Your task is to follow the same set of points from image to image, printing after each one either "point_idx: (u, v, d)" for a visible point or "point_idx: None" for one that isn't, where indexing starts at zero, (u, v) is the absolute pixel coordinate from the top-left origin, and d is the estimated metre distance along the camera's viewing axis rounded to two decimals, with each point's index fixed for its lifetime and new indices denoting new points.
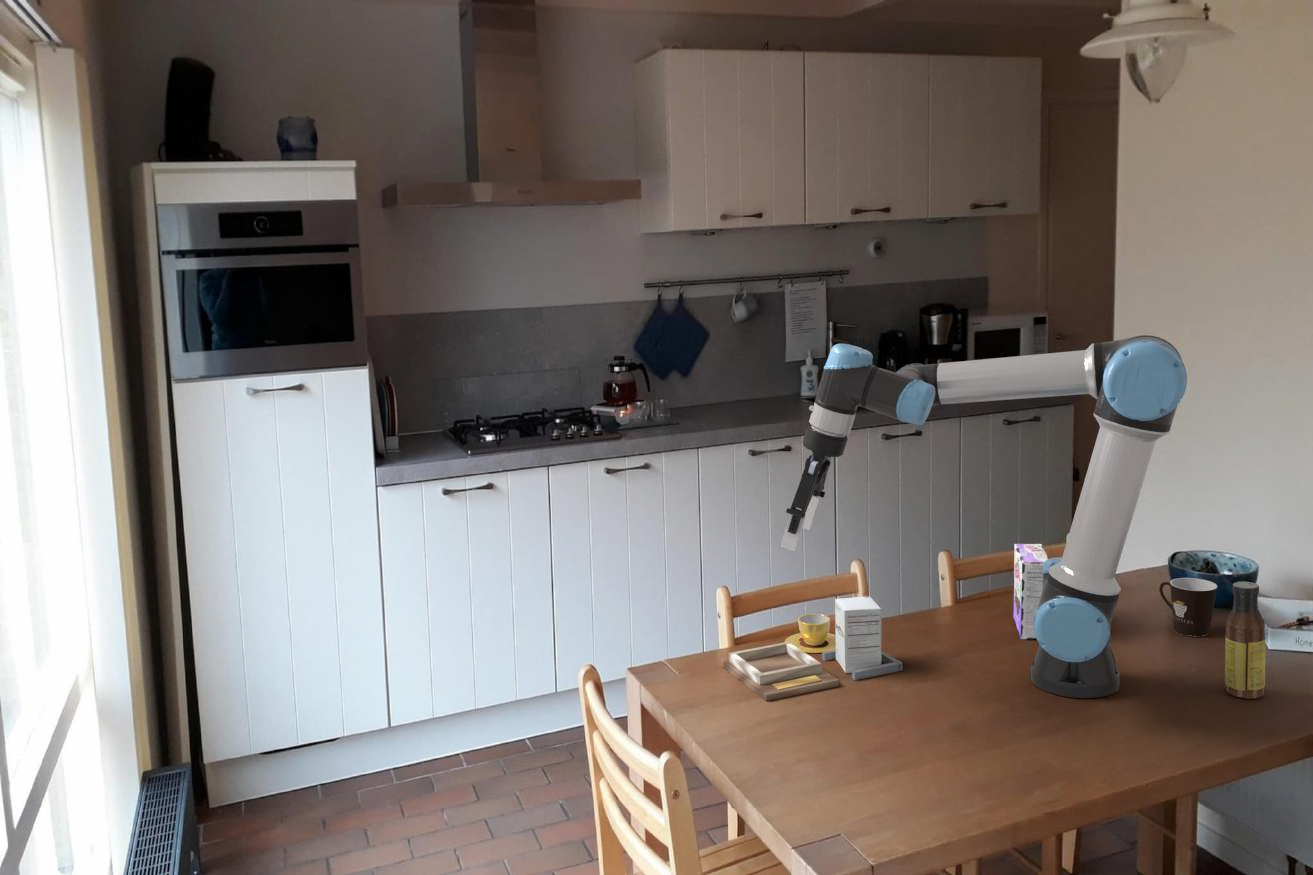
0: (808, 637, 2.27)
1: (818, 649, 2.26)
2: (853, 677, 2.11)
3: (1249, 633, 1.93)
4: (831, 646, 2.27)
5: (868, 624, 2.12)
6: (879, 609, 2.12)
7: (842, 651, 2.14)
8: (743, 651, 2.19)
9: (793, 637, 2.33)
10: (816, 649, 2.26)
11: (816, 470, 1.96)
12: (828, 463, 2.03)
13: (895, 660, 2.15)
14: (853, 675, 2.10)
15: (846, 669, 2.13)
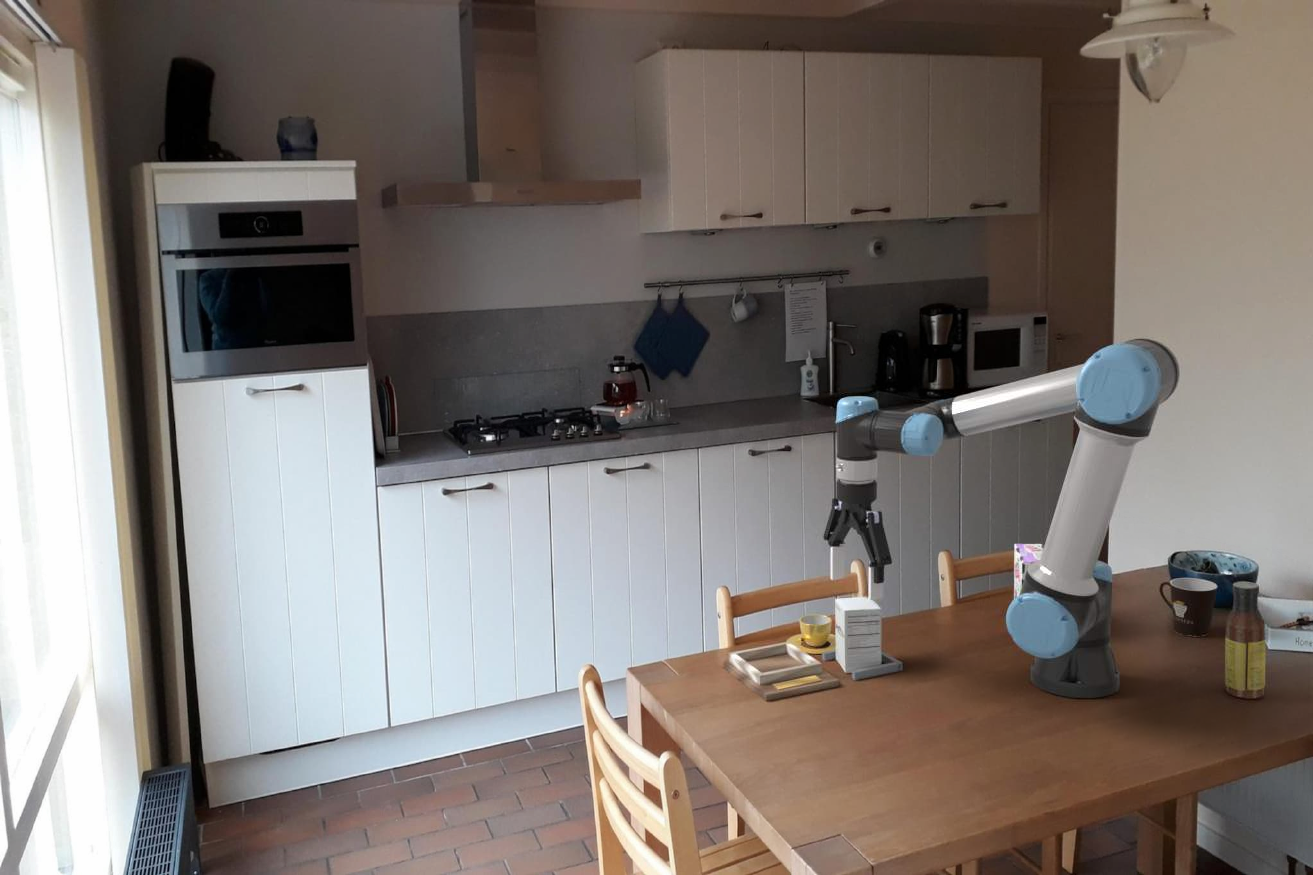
0: (809, 638, 2.27)
1: (819, 650, 2.25)
2: (853, 677, 2.11)
3: (1249, 633, 1.93)
4: (832, 647, 2.26)
5: (868, 625, 2.12)
6: (879, 609, 2.12)
7: (842, 651, 2.14)
8: (743, 651, 2.19)
9: (795, 638, 2.32)
10: (817, 650, 2.25)
11: (880, 517, 2.06)
12: None
13: (895, 660, 2.15)
14: (853, 675, 2.10)
15: (846, 669, 2.13)
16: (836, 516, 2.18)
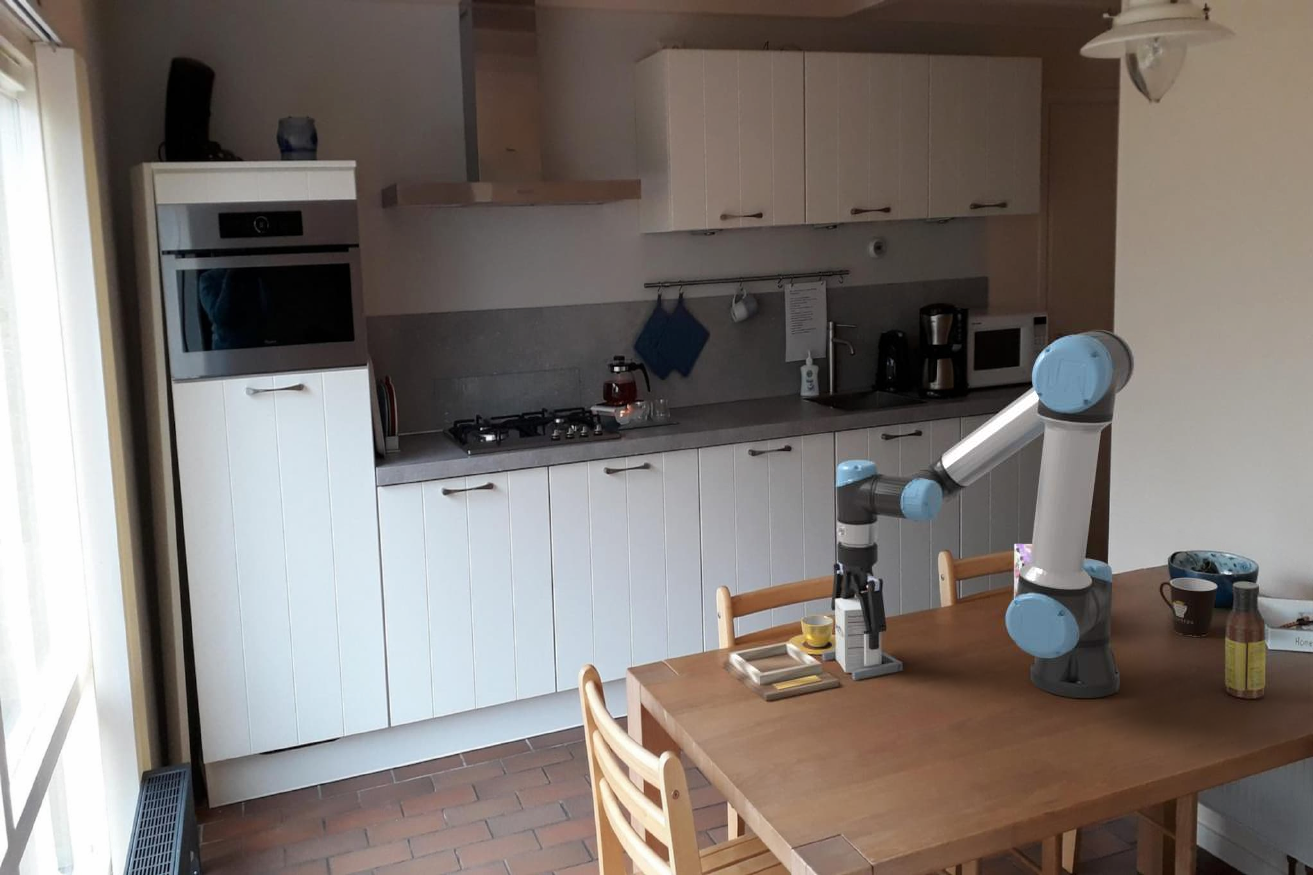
0: (811, 638, 2.27)
1: (821, 651, 2.25)
2: (853, 677, 2.11)
3: (1249, 633, 1.93)
4: (834, 648, 2.26)
5: None
6: None
7: (842, 651, 2.14)
8: (743, 651, 2.19)
9: (796, 639, 2.32)
10: (819, 651, 2.25)
11: (881, 586, 2.08)
12: None
13: (895, 660, 2.15)
14: (853, 675, 2.10)
15: (846, 669, 2.13)
16: (840, 582, 2.20)
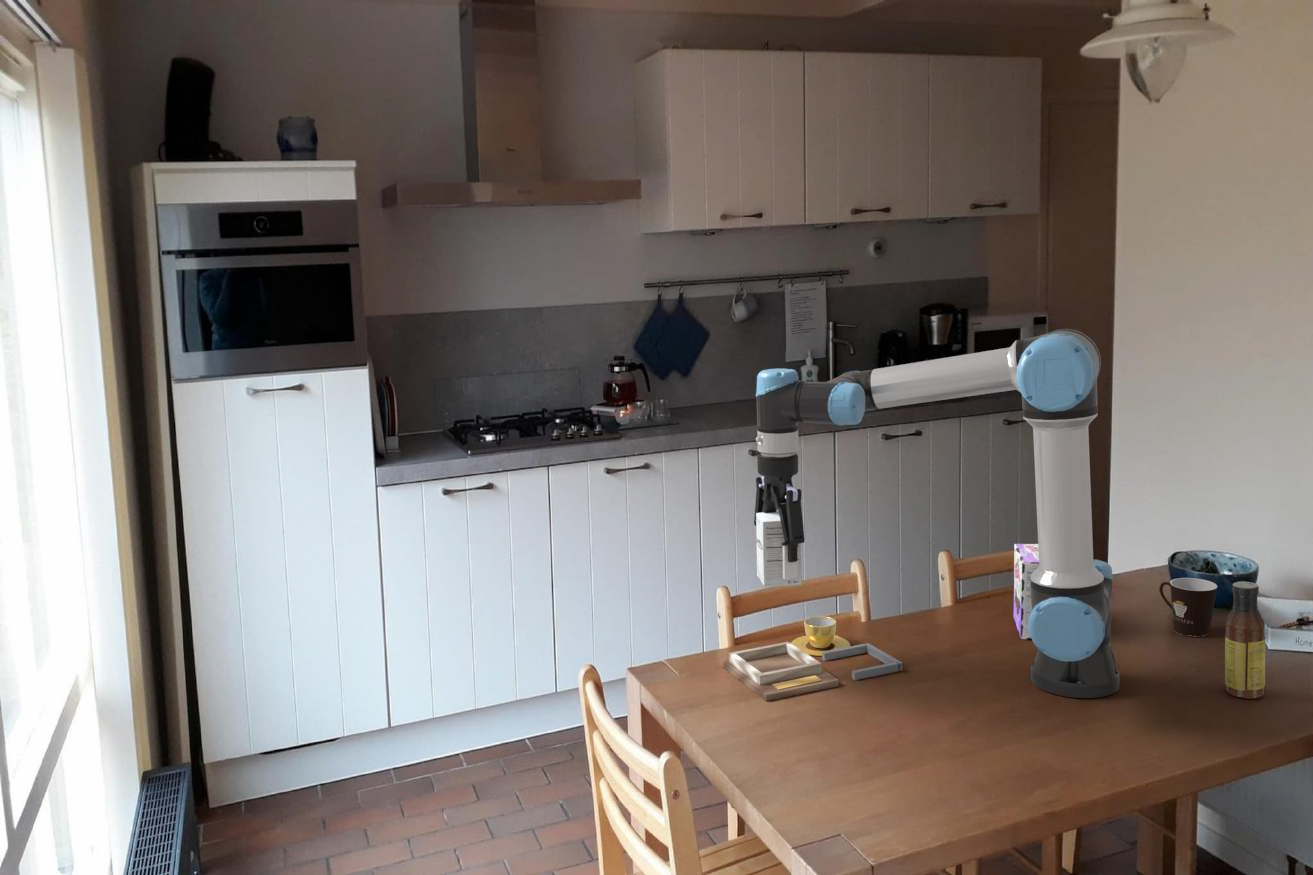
0: (814, 640, 2.26)
1: None
2: (853, 677, 2.11)
3: (1249, 633, 1.93)
4: None
5: None
6: None
7: (761, 565, 2.10)
8: (743, 651, 2.19)
9: (799, 640, 2.31)
10: None
11: (799, 496, 2.04)
12: None
13: (895, 660, 2.15)
14: (853, 675, 2.10)
15: (765, 583, 2.09)
16: (762, 496, 2.15)
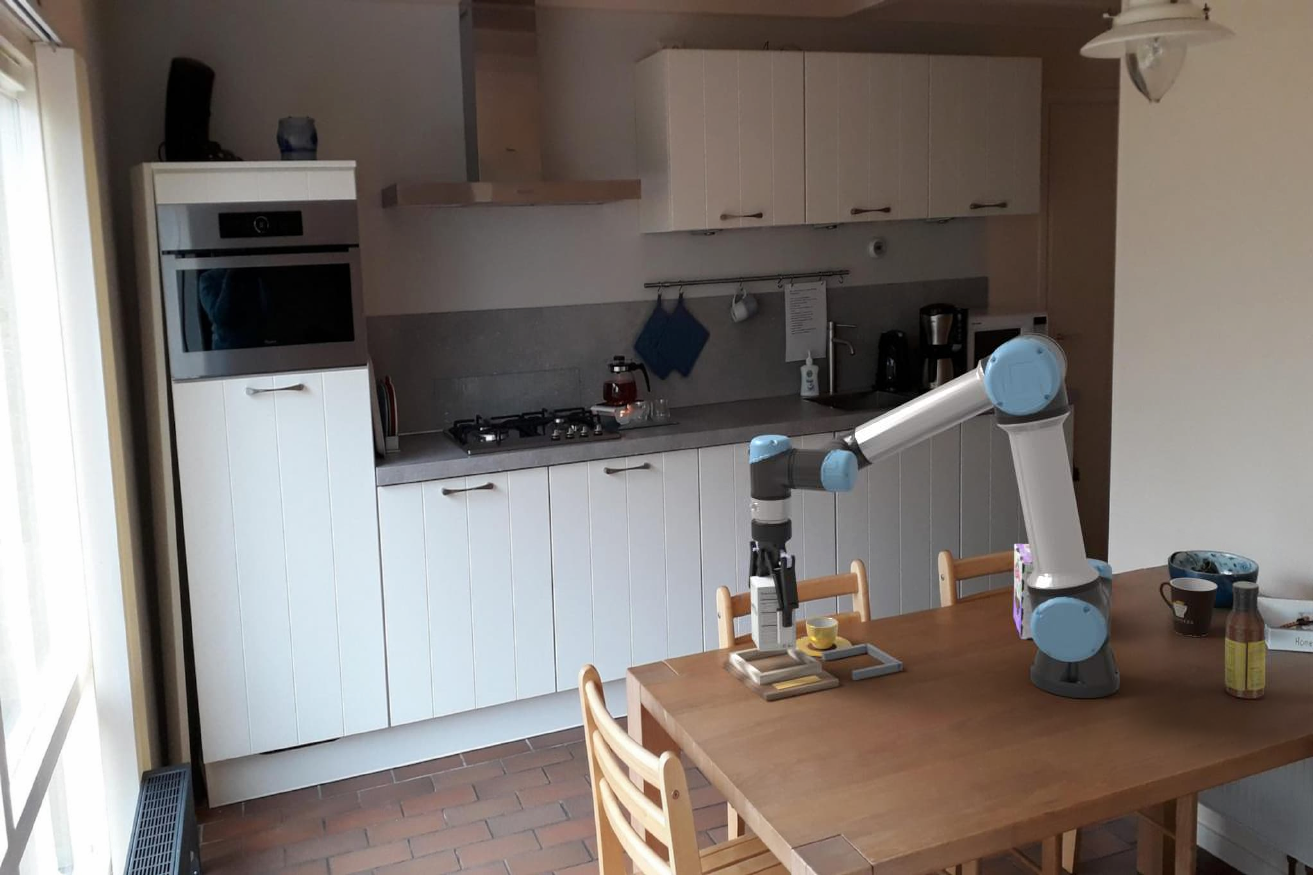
0: (816, 640, 2.25)
1: None
2: (853, 677, 2.11)
3: (1249, 633, 1.93)
4: None
5: None
6: None
7: (756, 629, 2.11)
8: (743, 651, 2.19)
9: (800, 641, 2.31)
10: None
11: (793, 562, 2.05)
12: None
13: (895, 660, 2.15)
14: (853, 675, 2.10)
15: (760, 647, 2.10)
16: (756, 559, 2.16)
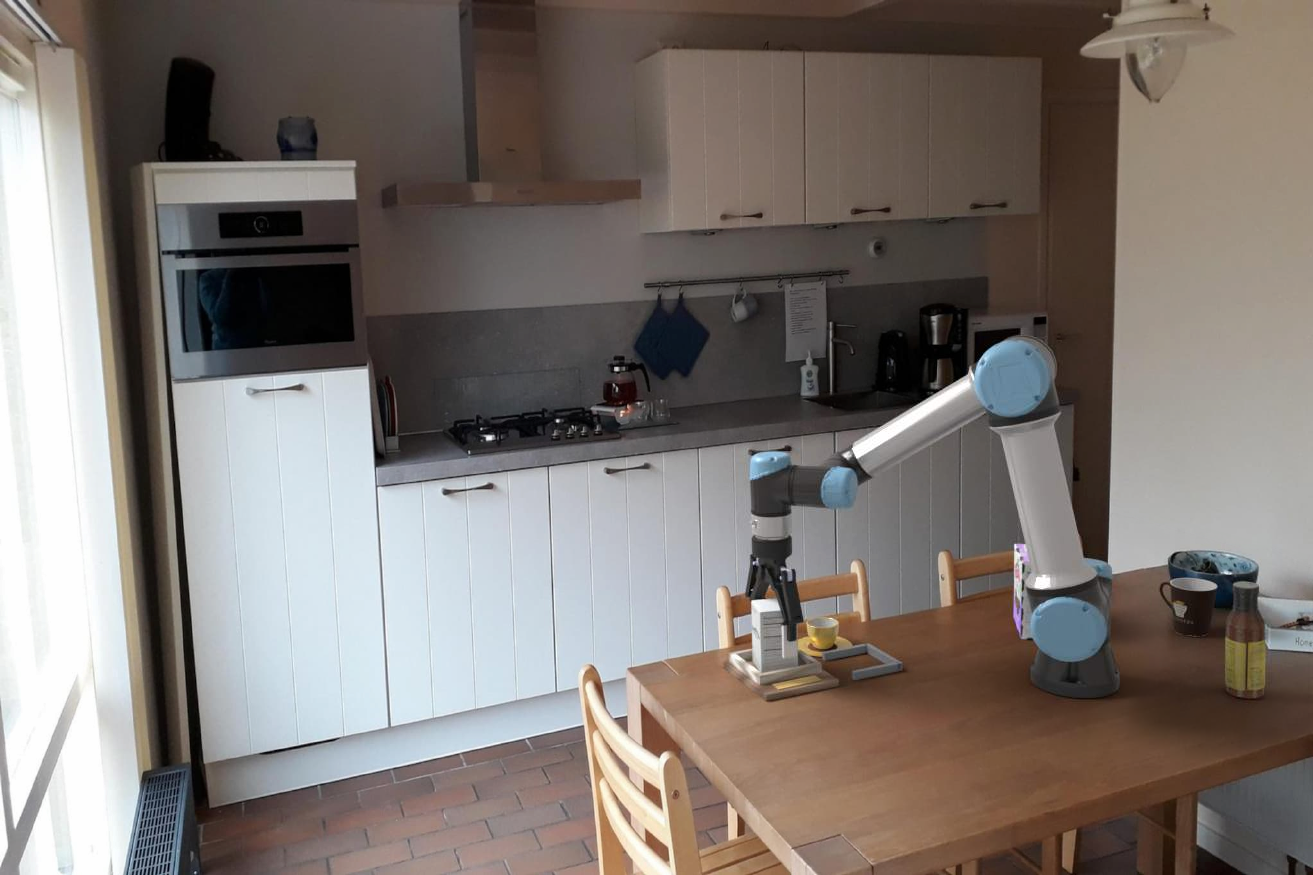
0: (817, 641, 2.25)
1: None
2: (853, 677, 2.11)
3: (1249, 633, 1.93)
4: None
5: None
6: None
7: (758, 653, 2.12)
8: (743, 651, 2.19)
9: (801, 641, 2.30)
10: None
11: (794, 575, 2.06)
12: None
13: (895, 660, 2.15)
14: (853, 675, 2.10)
15: (762, 671, 2.11)
16: (755, 572, 2.17)
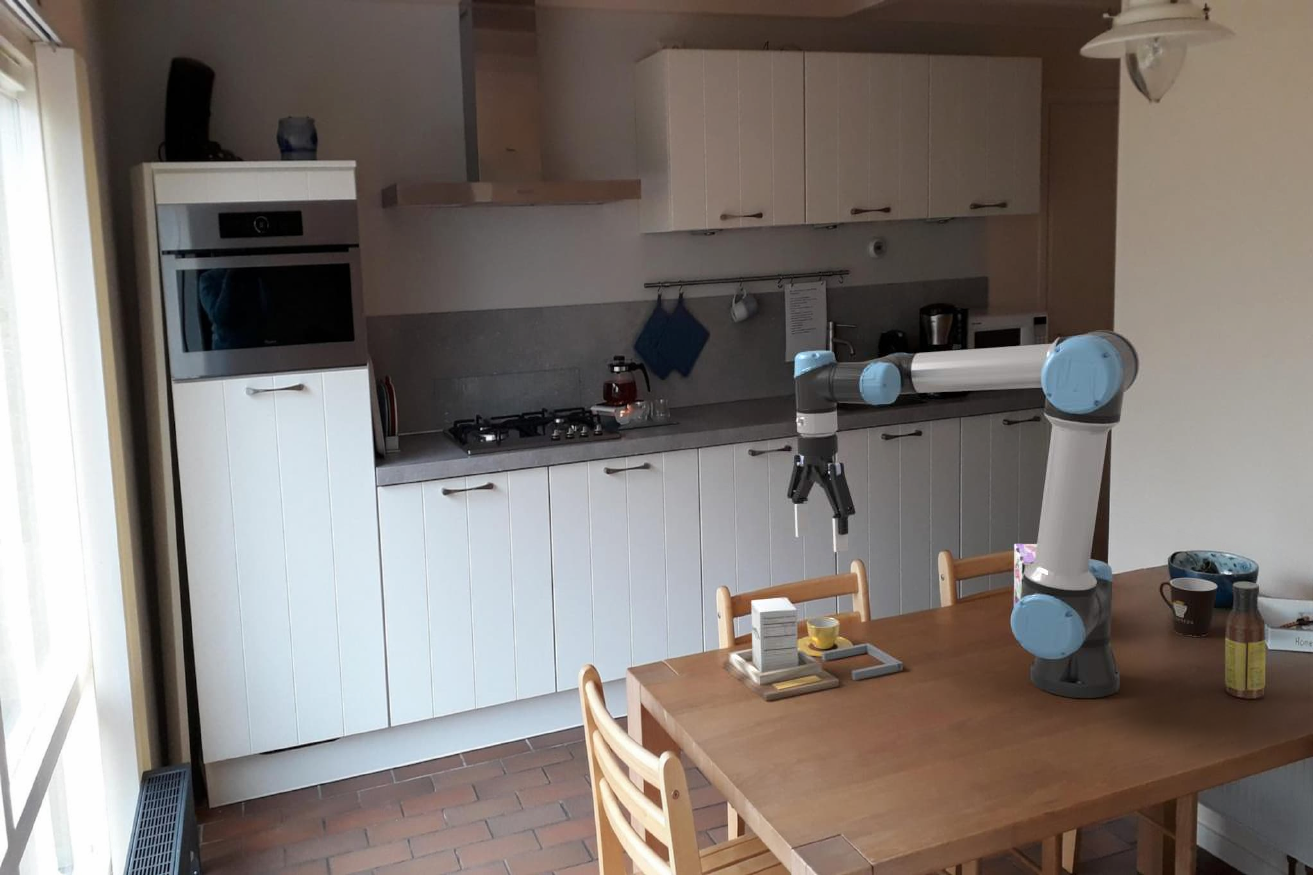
0: (817, 640, 2.25)
1: None
2: (853, 677, 2.11)
3: (1249, 633, 1.93)
4: None
5: (783, 626, 2.10)
6: (795, 610, 2.09)
7: (758, 653, 2.12)
8: (743, 651, 2.19)
9: (802, 641, 2.31)
10: None
11: (842, 468, 2.07)
12: None
13: (895, 660, 2.15)
14: (853, 675, 2.10)
15: (762, 671, 2.11)
16: (799, 473, 2.19)
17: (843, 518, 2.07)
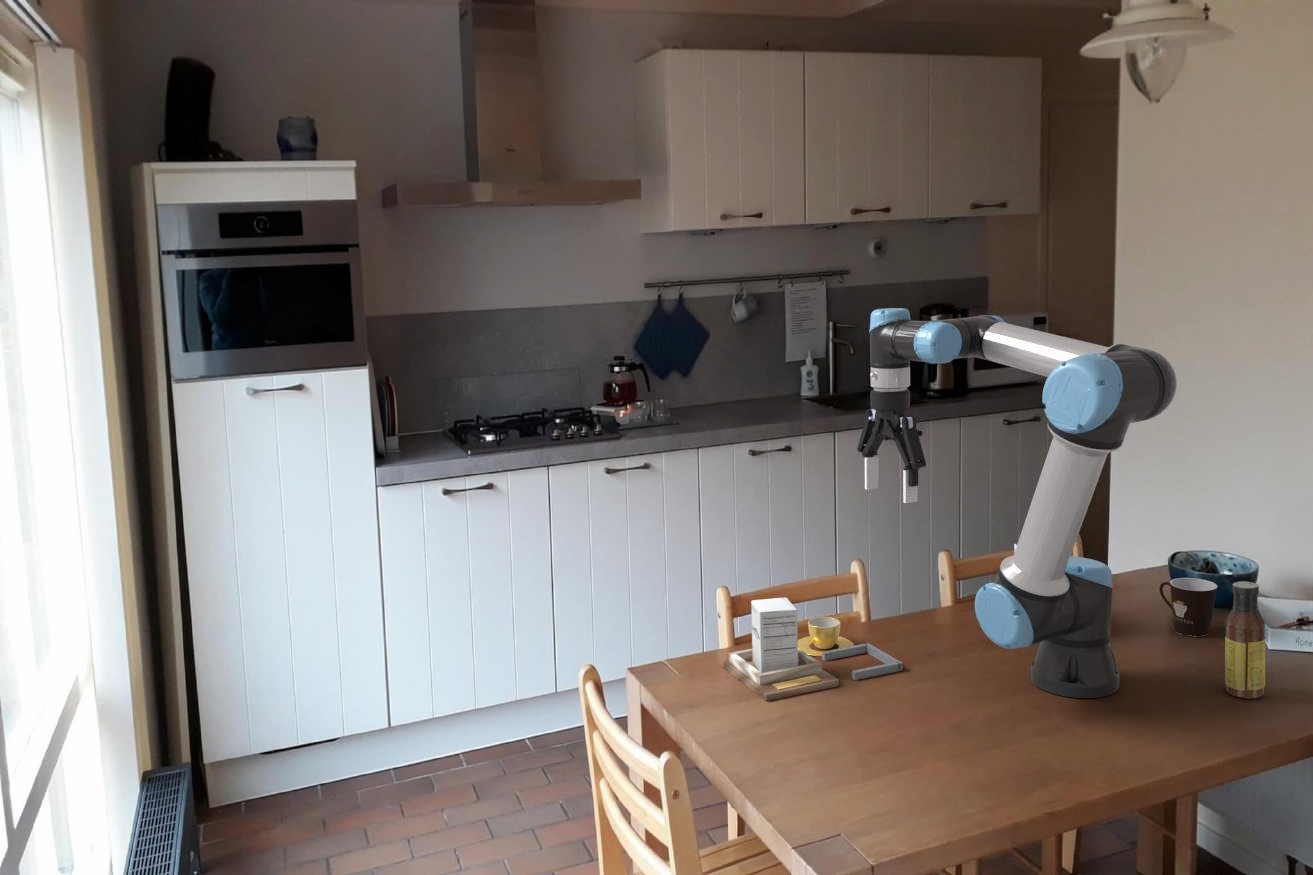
0: (818, 640, 2.25)
1: None
2: (853, 677, 2.11)
3: (1249, 633, 1.93)
4: None
5: (783, 626, 2.10)
6: (795, 610, 2.09)
7: (758, 653, 2.12)
8: (743, 651, 2.19)
9: (803, 641, 2.31)
10: None
11: (914, 422, 2.14)
12: None
13: (895, 660, 2.15)
14: (853, 675, 2.10)
15: (762, 671, 2.11)
16: (870, 427, 2.26)
17: (914, 470, 2.14)
